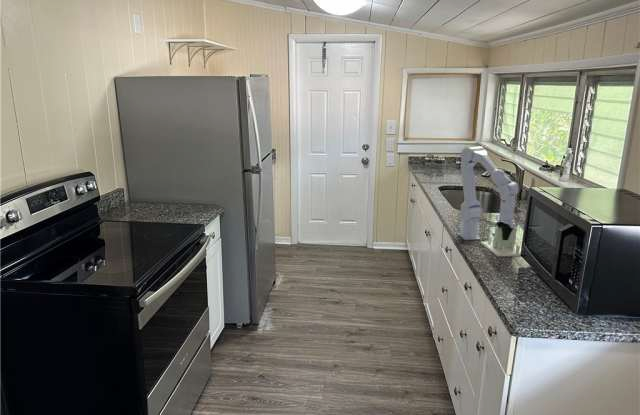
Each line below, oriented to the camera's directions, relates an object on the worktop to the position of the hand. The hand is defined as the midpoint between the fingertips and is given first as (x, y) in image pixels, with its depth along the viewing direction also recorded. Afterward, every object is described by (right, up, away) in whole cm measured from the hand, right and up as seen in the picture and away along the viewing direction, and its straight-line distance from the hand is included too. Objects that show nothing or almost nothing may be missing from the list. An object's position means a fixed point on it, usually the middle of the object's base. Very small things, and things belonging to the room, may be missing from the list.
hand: (503, 239), depth 196 cm
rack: (0, -5, +1) cm, 5 cm away
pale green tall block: (0, -4, +1) cm, 4 cm away
